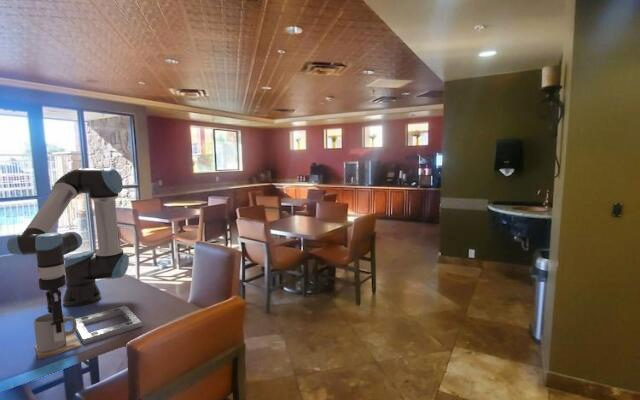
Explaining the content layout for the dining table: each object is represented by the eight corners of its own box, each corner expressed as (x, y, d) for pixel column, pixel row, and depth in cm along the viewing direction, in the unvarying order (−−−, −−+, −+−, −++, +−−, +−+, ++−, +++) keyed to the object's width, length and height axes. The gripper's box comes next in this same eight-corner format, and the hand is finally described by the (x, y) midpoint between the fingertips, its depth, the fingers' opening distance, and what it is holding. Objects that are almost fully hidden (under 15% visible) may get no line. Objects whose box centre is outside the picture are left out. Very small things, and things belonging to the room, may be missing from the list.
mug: (35, 355, 117) (32, 325, 116) (37, 345, 124) (34, 316, 123) (78, 344, 124) (75, 315, 123) (77, 334, 131) (75, 307, 130)
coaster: (34, 346, 124) (34, 344, 124) (74, 334, 132) (74, 333, 132) (38, 359, 116) (38, 358, 115) (80, 346, 124) (80, 344, 124)
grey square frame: (72, 324, 141) (72, 319, 141) (125, 309, 155) (125, 305, 155) (83, 344, 125) (83, 339, 125) (141, 326, 139) (141, 321, 139)
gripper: (35, 271, 127) (40, 327, 129) (42, 287, 110) (48, 351, 113) (60, 267, 132) (64, 320, 134) (70, 281, 116) (75, 342, 118)
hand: (56, 334), depth 123 cm, fingers open, 10 cm apart
